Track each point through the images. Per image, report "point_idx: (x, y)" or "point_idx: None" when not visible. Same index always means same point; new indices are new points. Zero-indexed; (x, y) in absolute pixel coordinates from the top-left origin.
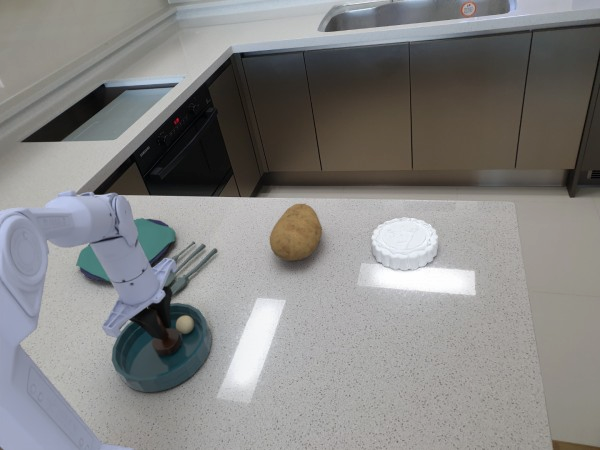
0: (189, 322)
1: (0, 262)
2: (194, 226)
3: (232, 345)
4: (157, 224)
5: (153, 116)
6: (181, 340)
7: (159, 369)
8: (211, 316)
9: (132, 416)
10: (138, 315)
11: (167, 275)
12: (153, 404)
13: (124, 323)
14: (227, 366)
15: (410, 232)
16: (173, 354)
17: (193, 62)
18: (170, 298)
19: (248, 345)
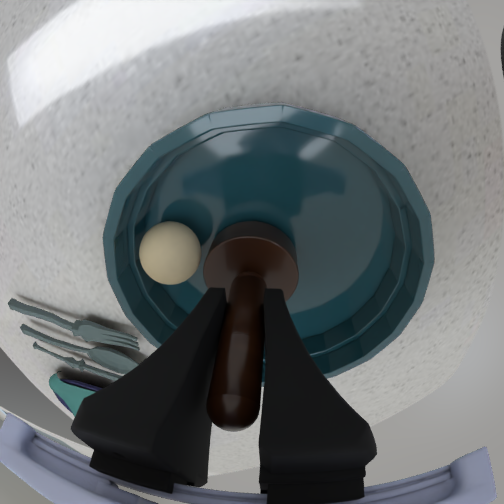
0: (157, 239)
1: None
2: (28, 354)
3: (163, 61)
4: (64, 401)
5: (26, 421)
6: (222, 230)
7: (337, 234)
8: (107, 203)
9: (458, 221)
10: (340, 479)
11: (38, 475)
12: (429, 187)
13: (408, 481)
14: (245, 24)
15: None
16: (275, 225)
17: None
18: (116, 387)
19: (146, 17)
